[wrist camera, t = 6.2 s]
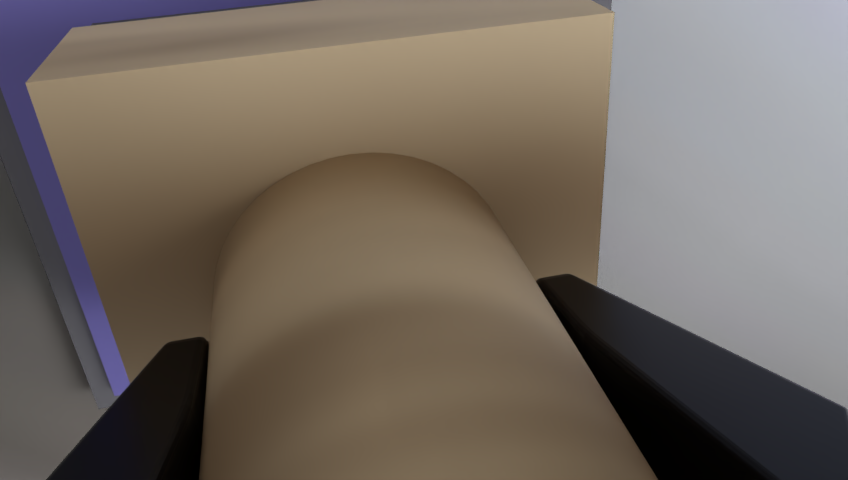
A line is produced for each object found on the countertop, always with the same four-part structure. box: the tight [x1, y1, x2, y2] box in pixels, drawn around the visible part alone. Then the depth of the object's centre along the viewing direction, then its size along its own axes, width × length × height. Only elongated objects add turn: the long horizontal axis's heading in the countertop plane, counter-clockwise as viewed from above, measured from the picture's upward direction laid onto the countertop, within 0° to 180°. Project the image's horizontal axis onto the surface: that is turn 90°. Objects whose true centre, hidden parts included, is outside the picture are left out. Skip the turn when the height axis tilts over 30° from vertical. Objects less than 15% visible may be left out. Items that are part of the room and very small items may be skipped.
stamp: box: [26, 0, 658, 480], centre depth 8 cm, size 6×6×9 cm
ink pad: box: [0, 0, 612, 409], centre depth 14 cm, size 11×11×1 cm
